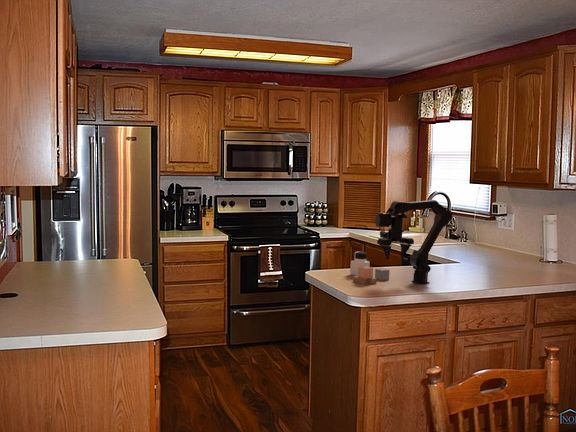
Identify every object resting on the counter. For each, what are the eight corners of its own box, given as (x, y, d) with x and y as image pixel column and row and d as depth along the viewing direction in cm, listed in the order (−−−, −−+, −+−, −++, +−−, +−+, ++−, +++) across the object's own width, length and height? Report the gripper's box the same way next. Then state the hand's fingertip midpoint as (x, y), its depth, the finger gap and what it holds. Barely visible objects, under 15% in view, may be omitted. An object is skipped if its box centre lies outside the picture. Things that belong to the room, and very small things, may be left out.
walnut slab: (366, 281, 301) (366, 275, 301) (376, 284, 294) (376, 278, 294) (353, 282, 297) (353, 276, 297) (362, 285, 290) (363, 279, 290)
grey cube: (382, 277, 310) (383, 268, 309) (388, 279, 306) (389, 269, 305) (374, 278, 307) (375, 268, 307) (381, 280, 303) (381, 270, 302)
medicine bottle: (369, 275, 314) (370, 252, 313) (361, 276, 309) (362, 253, 308) (358, 272, 319) (359, 250, 318) (349, 274, 314) (351, 251, 313)
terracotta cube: (366, 276, 299) (366, 266, 299) (372, 278, 295) (373, 268, 294) (358, 276, 297) (358, 266, 296) (364, 278, 292) (364, 268, 292)
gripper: (400, 224, 306) (398, 255, 308) (371, 225, 297) (369, 257, 298) (415, 227, 296) (413, 259, 298) (385, 228, 287) (383, 261, 289)
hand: (394, 258), depth 296 cm, fingers open, 9 cm apart
